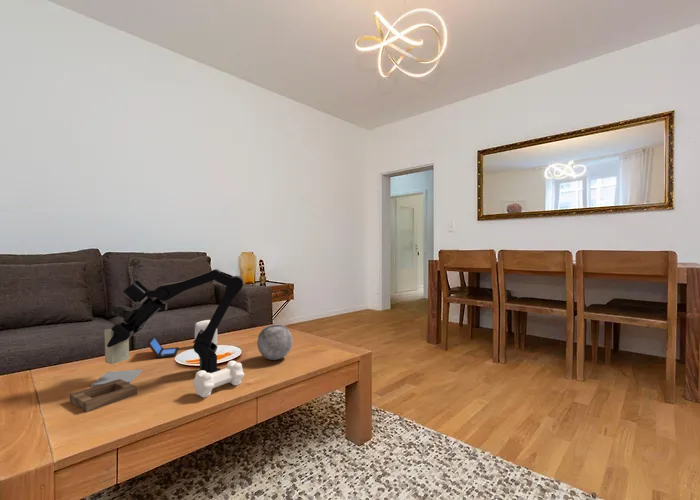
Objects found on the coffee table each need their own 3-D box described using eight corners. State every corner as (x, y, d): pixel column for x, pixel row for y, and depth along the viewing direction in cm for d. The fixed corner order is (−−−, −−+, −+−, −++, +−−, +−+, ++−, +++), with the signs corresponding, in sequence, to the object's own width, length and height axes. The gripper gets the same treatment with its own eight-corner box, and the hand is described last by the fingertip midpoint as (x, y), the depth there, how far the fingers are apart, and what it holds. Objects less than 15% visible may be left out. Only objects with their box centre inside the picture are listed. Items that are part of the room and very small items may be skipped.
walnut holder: (137, 394, 111) (137, 386, 111) (86, 412, 99) (86, 403, 99) (119, 386, 117) (119, 378, 117) (69, 402, 105) (69, 394, 105)
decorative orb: (290, 352, 154) (290, 319, 154) (295, 362, 140) (295, 326, 140) (256, 355, 149) (256, 321, 149) (258, 366, 136) (258, 329, 135)
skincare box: (122, 357, 127) (121, 325, 127) (129, 359, 125) (129, 326, 125) (104, 363, 121) (103, 329, 121) (111, 364, 119) (111, 330, 119)
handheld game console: (175, 357, 147) (175, 340, 147) (147, 360, 143) (147, 343, 143) (179, 349, 159) (179, 333, 159) (153, 351, 155) (153, 335, 155)
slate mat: (142, 370, 131) (142, 369, 131) (129, 383, 119) (129, 381, 119) (107, 373, 128) (107, 371, 128) (90, 386, 117) (90, 384, 117)
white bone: (205, 402, 107) (206, 377, 106) (190, 392, 112) (191, 369, 111) (245, 386, 119) (246, 364, 118) (230, 378, 124) (231, 356, 123)
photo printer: (216, 342, 168) (216, 318, 168) (218, 345, 165) (218, 319, 165) (193, 346, 163) (193, 320, 162) (195, 348, 159) (195, 322, 159)
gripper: (137, 293, 132) (105, 323, 130) (117, 301, 114) (80, 335, 112) (159, 311, 135) (129, 341, 132) (144, 322, 117) (108, 357, 114)
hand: (112, 343), depth 122 cm, fingers closed on skincare box, 7 cm apart
